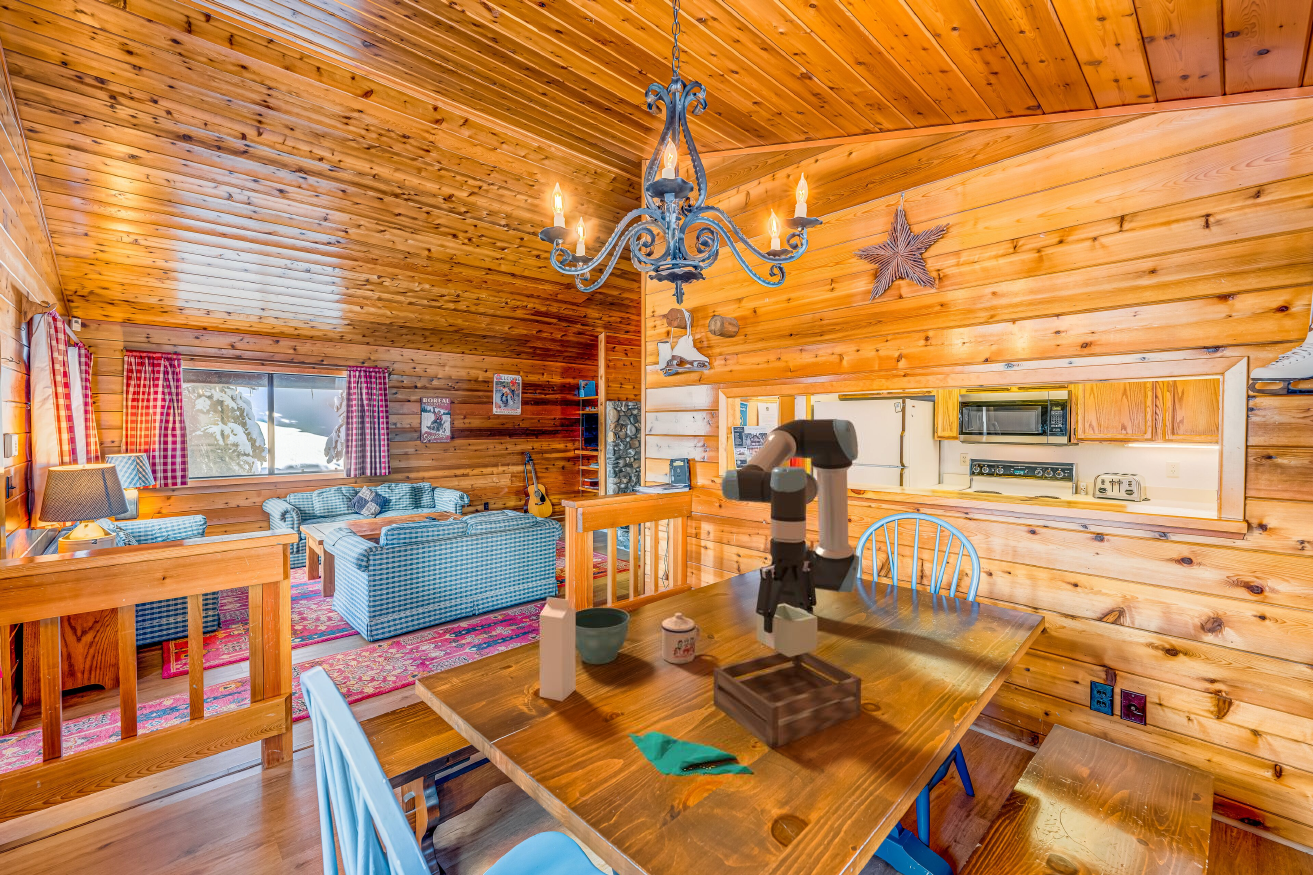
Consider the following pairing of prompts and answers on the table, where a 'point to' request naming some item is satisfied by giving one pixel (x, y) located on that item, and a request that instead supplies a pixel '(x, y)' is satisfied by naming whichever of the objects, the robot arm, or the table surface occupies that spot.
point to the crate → (786, 696)
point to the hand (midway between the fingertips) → (786, 642)
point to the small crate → (791, 630)
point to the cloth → (684, 756)
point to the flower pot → (600, 633)
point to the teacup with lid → (679, 639)
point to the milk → (557, 649)
